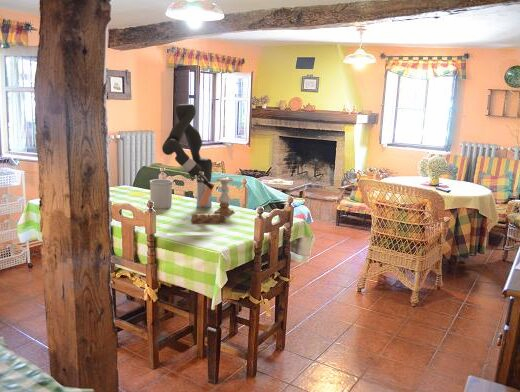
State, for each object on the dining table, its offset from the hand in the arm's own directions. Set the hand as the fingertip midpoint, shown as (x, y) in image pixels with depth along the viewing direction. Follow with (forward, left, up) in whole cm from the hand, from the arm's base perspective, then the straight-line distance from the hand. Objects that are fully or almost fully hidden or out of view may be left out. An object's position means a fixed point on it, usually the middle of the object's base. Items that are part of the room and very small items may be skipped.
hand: (211, 187), depth 276 cm
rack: (+4, +2, -21) cm, 22 cm away
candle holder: (-17, -6, -21) cm, 28 cm away
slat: (+4, -3, -10) cm, 12 cm away
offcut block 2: (+2, +4, -20) cm, 20 cm away
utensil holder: (-3, -52, -21) cm, 57 cm away
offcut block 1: (+7, 0, -20) cm, 21 cm away
